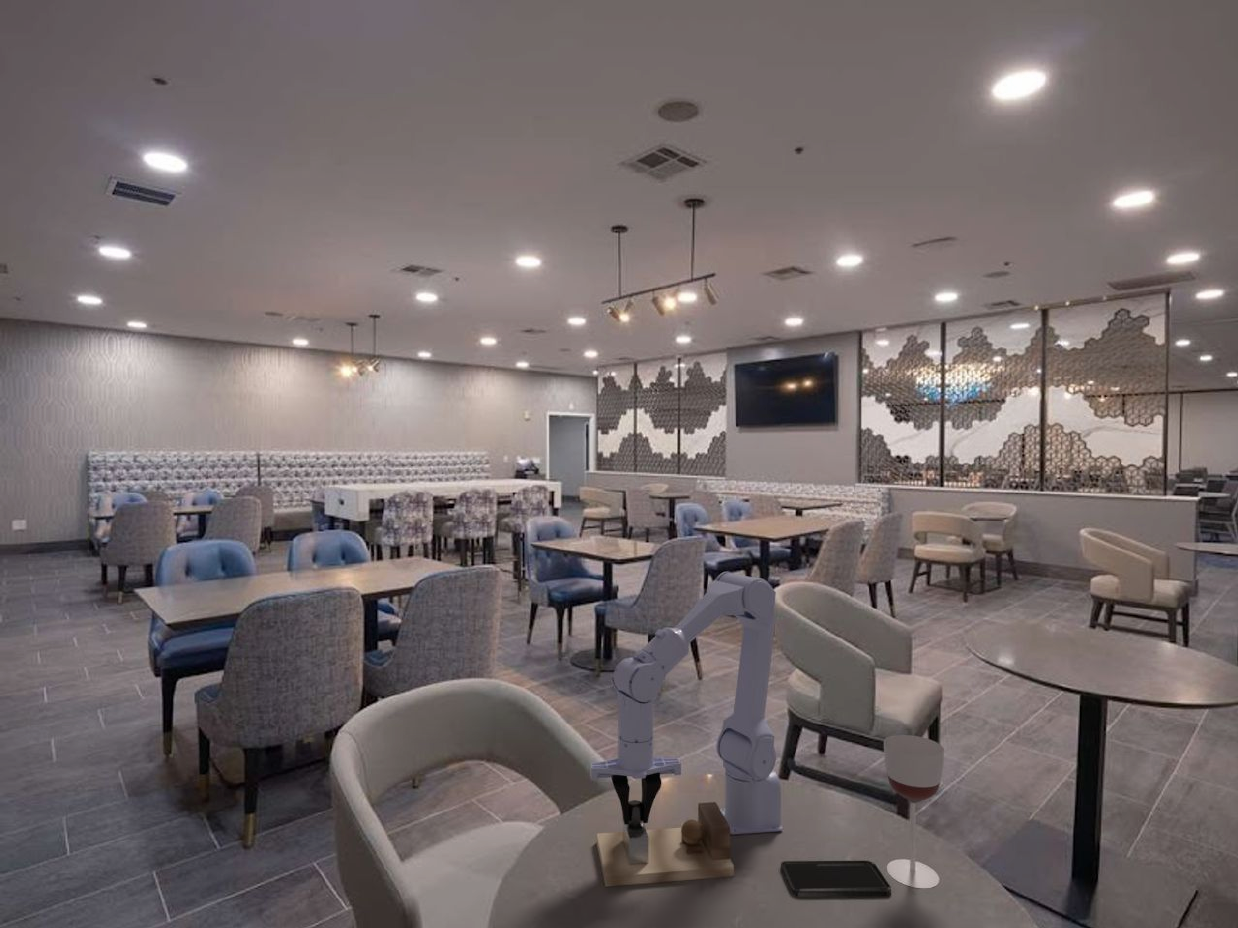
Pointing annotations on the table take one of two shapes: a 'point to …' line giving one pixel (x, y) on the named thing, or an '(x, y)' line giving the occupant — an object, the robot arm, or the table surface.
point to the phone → (835, 879)
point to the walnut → (692, 832)
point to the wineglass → (913, 795)
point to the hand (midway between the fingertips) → (635, 820)
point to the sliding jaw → (636, 835)
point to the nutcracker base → (671, 853)
